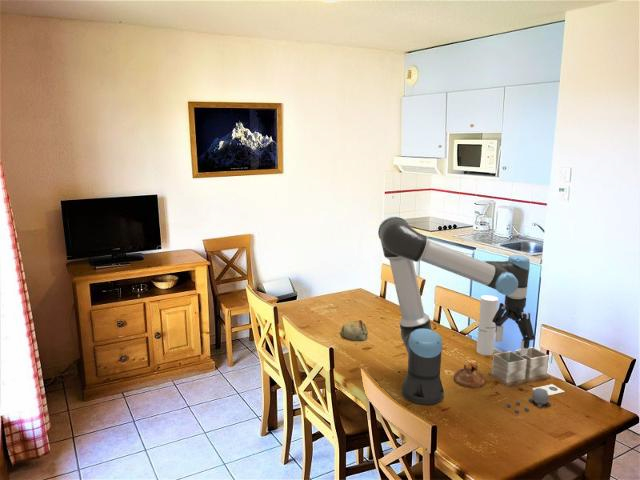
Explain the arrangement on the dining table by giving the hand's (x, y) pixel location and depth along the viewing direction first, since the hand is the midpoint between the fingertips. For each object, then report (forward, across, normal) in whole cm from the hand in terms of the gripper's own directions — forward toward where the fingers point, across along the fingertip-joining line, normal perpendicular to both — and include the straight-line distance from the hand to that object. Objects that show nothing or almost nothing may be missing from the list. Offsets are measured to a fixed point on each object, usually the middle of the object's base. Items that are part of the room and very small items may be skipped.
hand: (510, 348), depth 196 cm
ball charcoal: (+13, -19, +2) cm, 23 cm away
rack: (+13, 0, -6) cm, 14 cm away
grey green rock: (+13, +59, +39) cm, 72 cm away
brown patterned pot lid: (+13, +4, +16) cm, 21 cm away
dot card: (+13, -13, -8) cm, 20 cm away
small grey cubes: (+13, -19, +8) cm, 24 cm away
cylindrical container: (+13, +23, -8) cm, 27 cm away
